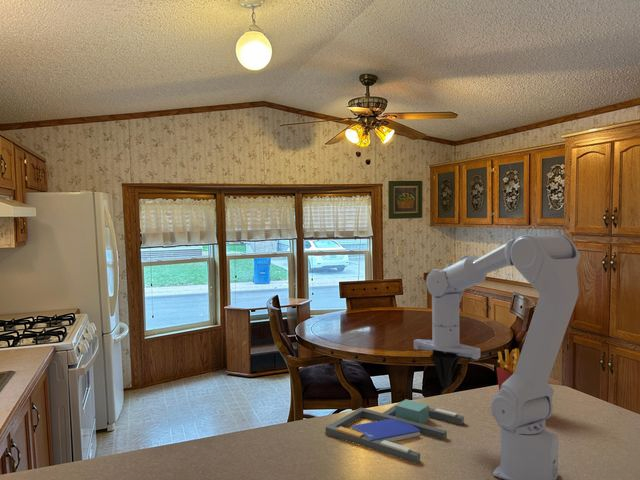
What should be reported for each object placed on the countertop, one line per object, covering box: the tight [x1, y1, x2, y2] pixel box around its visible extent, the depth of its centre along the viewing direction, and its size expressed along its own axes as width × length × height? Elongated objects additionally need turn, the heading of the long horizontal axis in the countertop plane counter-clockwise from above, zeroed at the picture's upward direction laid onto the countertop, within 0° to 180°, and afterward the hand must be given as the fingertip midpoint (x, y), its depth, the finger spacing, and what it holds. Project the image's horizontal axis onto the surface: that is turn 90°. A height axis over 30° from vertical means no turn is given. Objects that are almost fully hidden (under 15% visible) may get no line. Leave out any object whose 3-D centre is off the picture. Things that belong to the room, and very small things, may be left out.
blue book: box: [350, 417, 421, 442], centre depth 105 cm, size 2×8×12 cm
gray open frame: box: [325, 407, 448, 464], centre depth 104 cm, size 22×14×2 cm, turn 52°
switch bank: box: [382, 400, 465, 426], centre depth 111 cm, size 16×10×2 cm, turn 52°
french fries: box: [496, 347, 521, 392], centre depth 119 cm, size 9×8×15 cm
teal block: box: [395, 398, 430, 425], centre depth 112 cm, size 6×5×4 cm
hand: (446, 386), depth 105 cm, fingers closed
